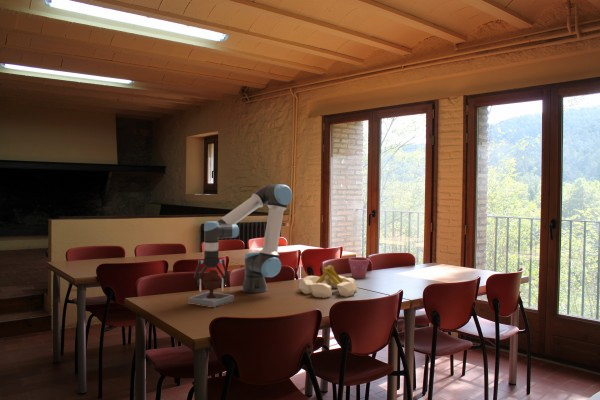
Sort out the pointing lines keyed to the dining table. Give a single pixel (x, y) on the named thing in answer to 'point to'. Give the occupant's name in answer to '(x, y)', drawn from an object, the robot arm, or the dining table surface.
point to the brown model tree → (211, 282)
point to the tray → (213, 302)
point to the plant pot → (358, 267)
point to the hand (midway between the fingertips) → (211, 290)
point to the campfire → (328, 284)
